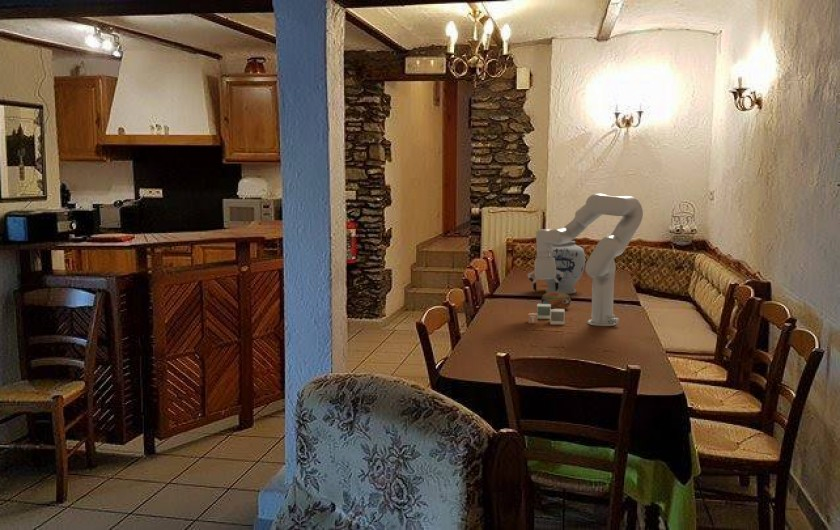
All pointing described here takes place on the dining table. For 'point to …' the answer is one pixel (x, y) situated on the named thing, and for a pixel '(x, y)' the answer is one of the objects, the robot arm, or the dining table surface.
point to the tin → (556, 300)
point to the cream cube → (557, 316)
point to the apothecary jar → (567, 267)
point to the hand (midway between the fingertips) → (545, 291)
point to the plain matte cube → (543, 311)
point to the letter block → (532, 318)
